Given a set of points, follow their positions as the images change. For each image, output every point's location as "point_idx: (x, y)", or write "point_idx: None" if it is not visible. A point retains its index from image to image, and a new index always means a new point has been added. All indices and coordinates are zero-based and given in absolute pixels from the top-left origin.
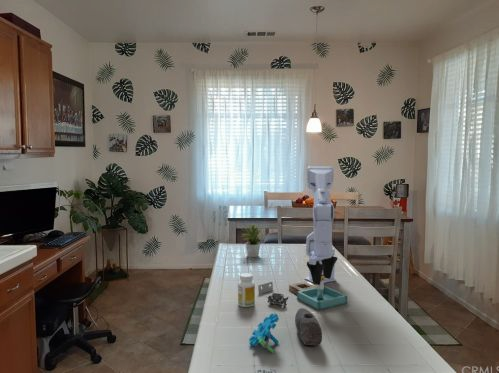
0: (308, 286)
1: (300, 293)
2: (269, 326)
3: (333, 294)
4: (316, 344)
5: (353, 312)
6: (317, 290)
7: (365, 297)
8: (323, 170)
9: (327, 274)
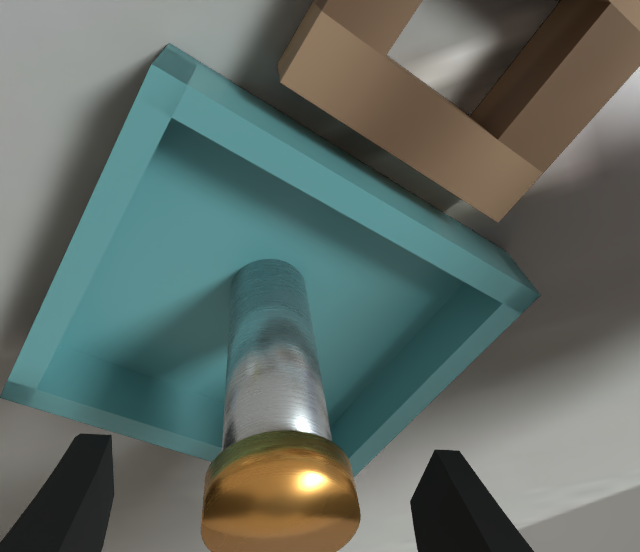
0: (521, 103)
1: (120, 136)
2: None
3: (398, 374)
4: None
5: (183, 503)
6: (229, 345)
7: (488, 489)
8: None
9: (434, 537)
